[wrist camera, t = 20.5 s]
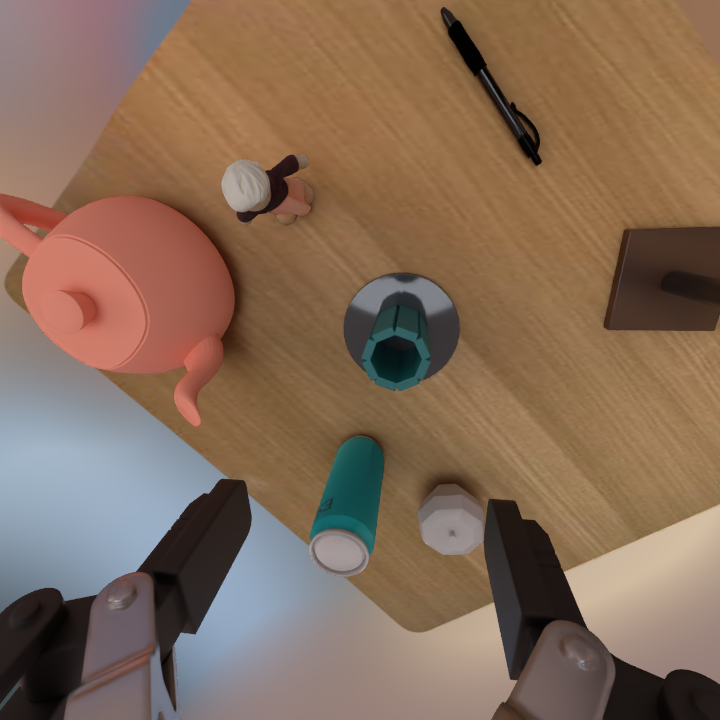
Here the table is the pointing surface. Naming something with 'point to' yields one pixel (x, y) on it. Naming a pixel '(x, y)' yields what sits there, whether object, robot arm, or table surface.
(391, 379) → the teal octagonal tube
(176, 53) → the table surface
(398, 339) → the slate coaster
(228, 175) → the grandmother figurine
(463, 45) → the pen
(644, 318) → the holder
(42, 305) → the teapot
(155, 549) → the robot arm
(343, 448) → the beverage can
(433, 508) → the apple
